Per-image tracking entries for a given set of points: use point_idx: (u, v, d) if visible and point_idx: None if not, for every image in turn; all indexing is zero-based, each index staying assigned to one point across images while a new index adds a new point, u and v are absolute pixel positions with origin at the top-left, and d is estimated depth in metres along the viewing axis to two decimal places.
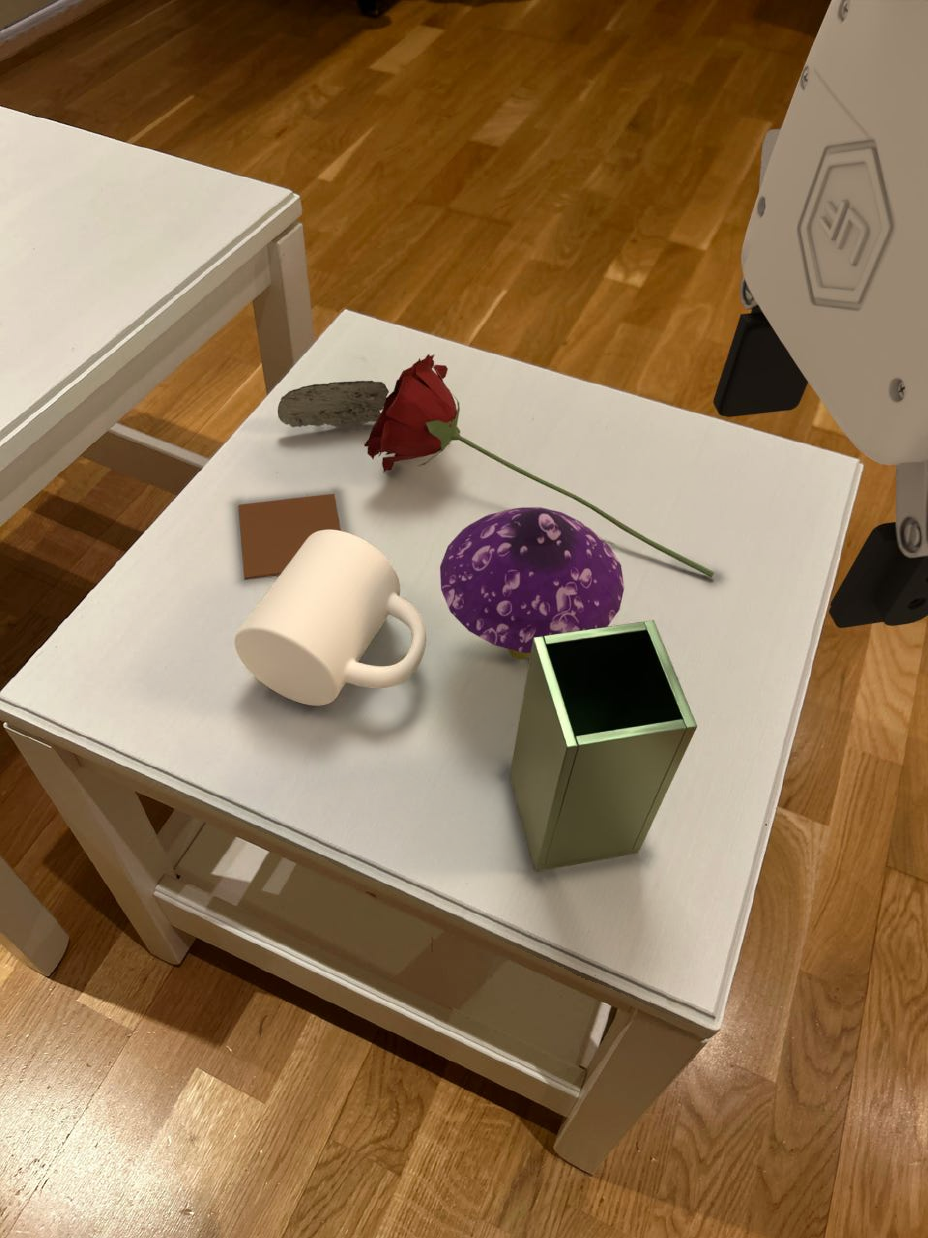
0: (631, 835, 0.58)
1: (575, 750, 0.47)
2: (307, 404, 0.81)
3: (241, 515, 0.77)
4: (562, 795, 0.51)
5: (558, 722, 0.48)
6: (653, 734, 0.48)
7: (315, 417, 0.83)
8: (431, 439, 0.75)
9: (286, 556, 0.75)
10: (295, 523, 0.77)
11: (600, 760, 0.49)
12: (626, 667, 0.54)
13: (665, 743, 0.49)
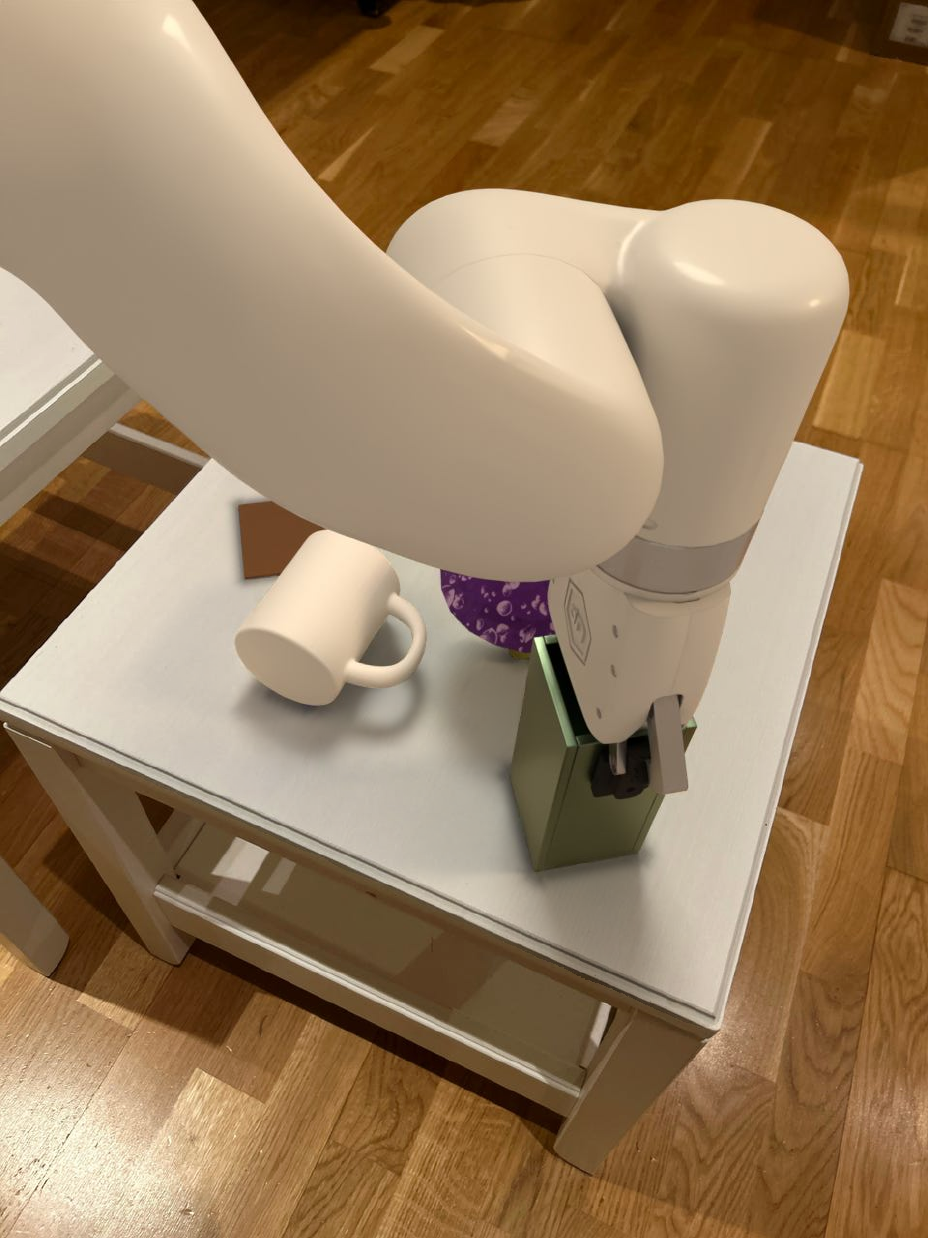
0: (631, 835, 0.58)
1: (575, 750, 0.47)
2: None
3: (241, 515, 0.77)
4: (562, 795, 0.51)
5: (558, 722, 0.48)
6: None
7: None
8: None
9: (286, 556, 0.75)
10: (295, 523, 0.77)
11: None
12: None
13: None
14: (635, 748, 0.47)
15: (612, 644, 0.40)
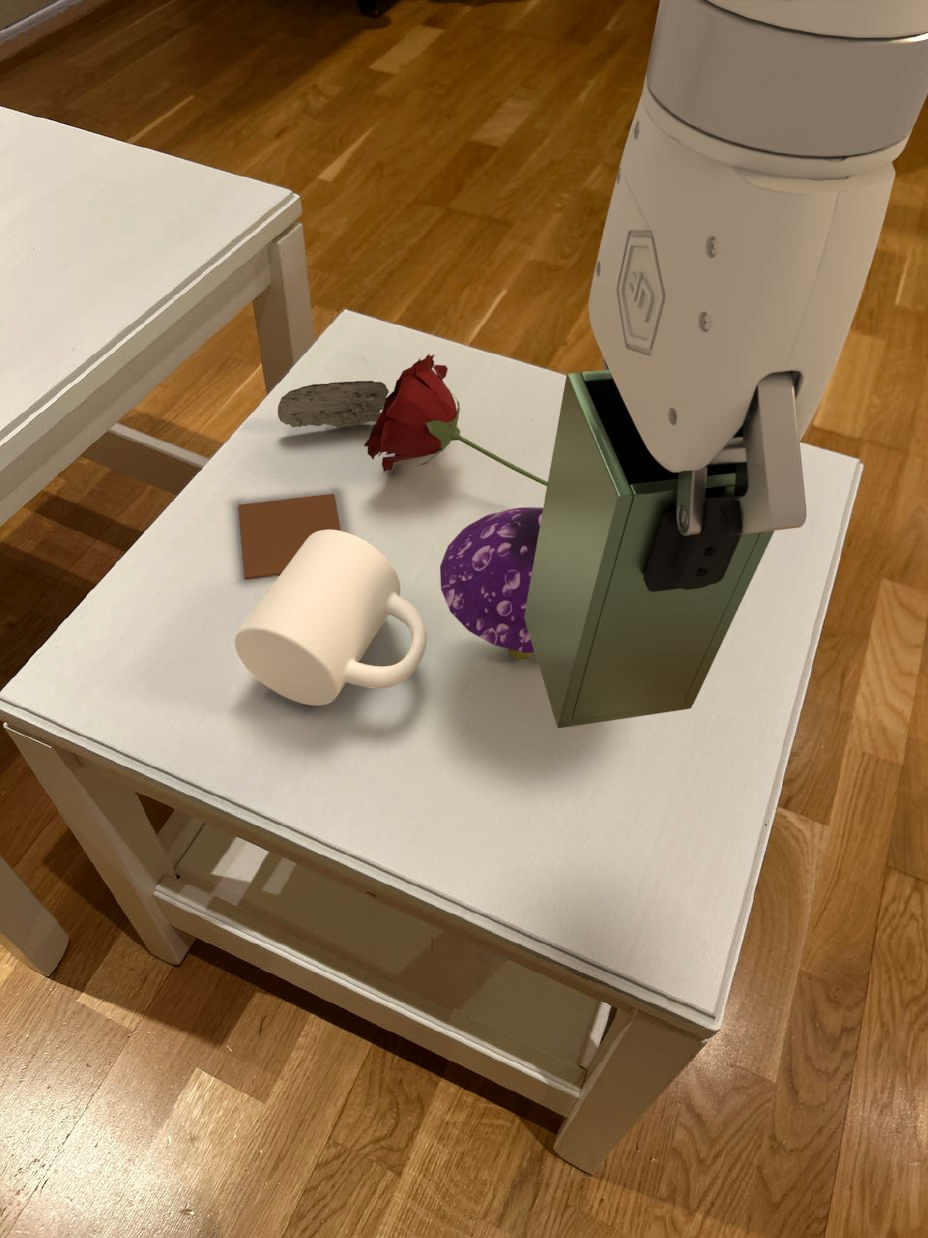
0: (686, 676, 0.44)
1: (629, 504, 0.34)
2: (307, 404, 0.81)
3: (241, 515, 0.77)
4: (604, 591, 0.37)
5: (605, 469, 0.34)
6: None
7: (315, 417, 0.83)
8: (431, 439, 0.75)
9: (286, 556, 0.75)
10: (295, 523, 0.77)
11: None
12: None
13: None
14: (715, 498, 0.33)
15: (705, 273, 0.26)
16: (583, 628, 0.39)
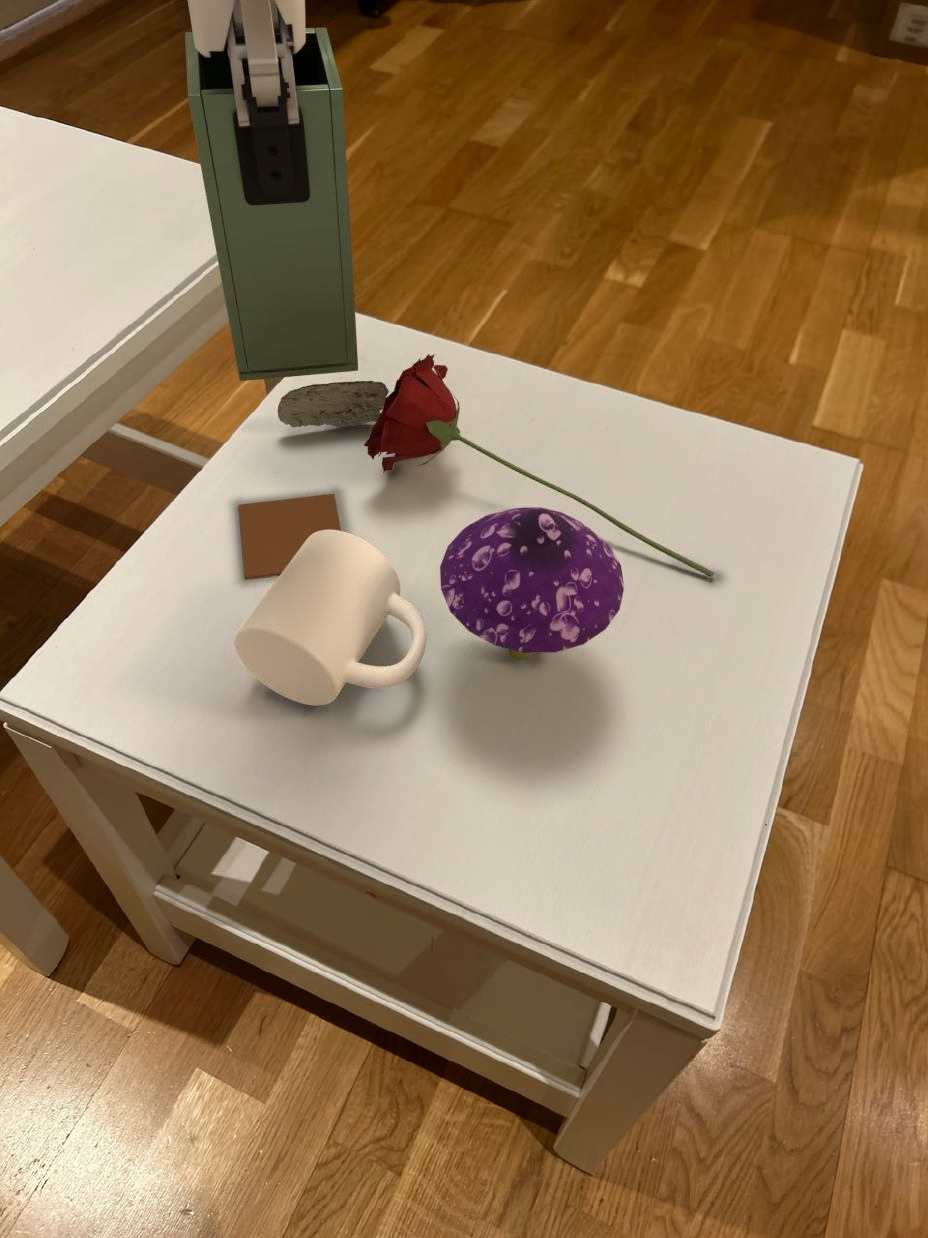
0: (336, 327, 0.53)
1: (201, 105, 0.43)
2: (307, 404, 0.81)
3: (241, 515, 0.77)
4: (218, 209, 0.47)
5: (187, 82, 0.43)
6: None
7: (315, 417, 0.83)
8: (431, 439, 0.75)
9: (286, 556, 0.75)
10: (295, 523, 0.77)
11: None
12: None
13: (313, 119, 0.44)
14: None
15: None
16: None
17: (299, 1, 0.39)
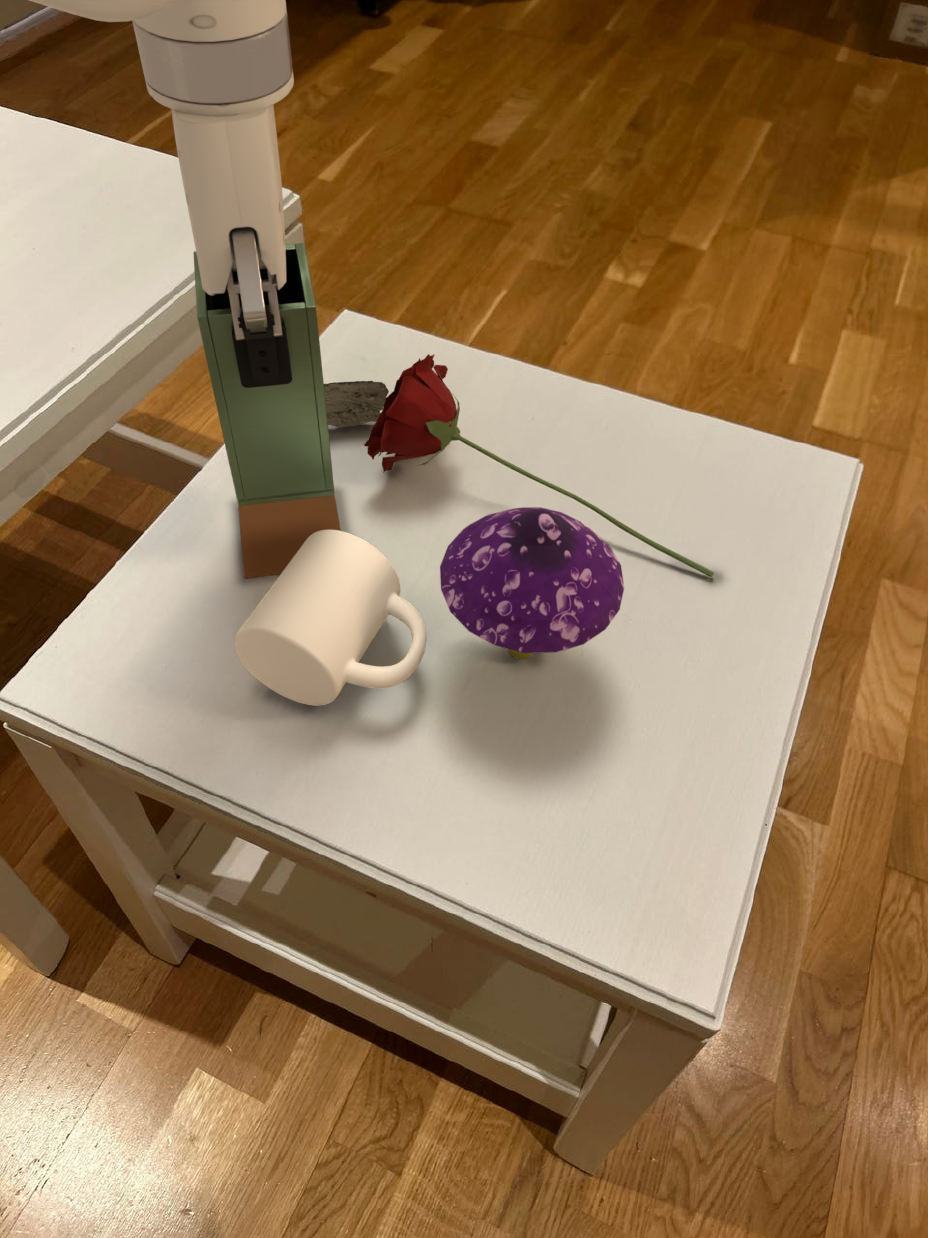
0: (315, 465, 0.66)
1: (207, 322, 0.56)
2: None
3: (241, 515, 0.77)
4: (220, 389, 0.59)
5: (196, 302, 0.56)
6: None
7: None
8: (431, 439, 0.75)
9: (286, 556, 0.75)
10: (295, 523, 0.77)
11: None
12: (293, 297, 0.63)
13: (294, 327, 0.57)
14: None
15: (181, 170, 0.48)
16: (219, 419, 0.61)
17: (281, 259, 0.52)
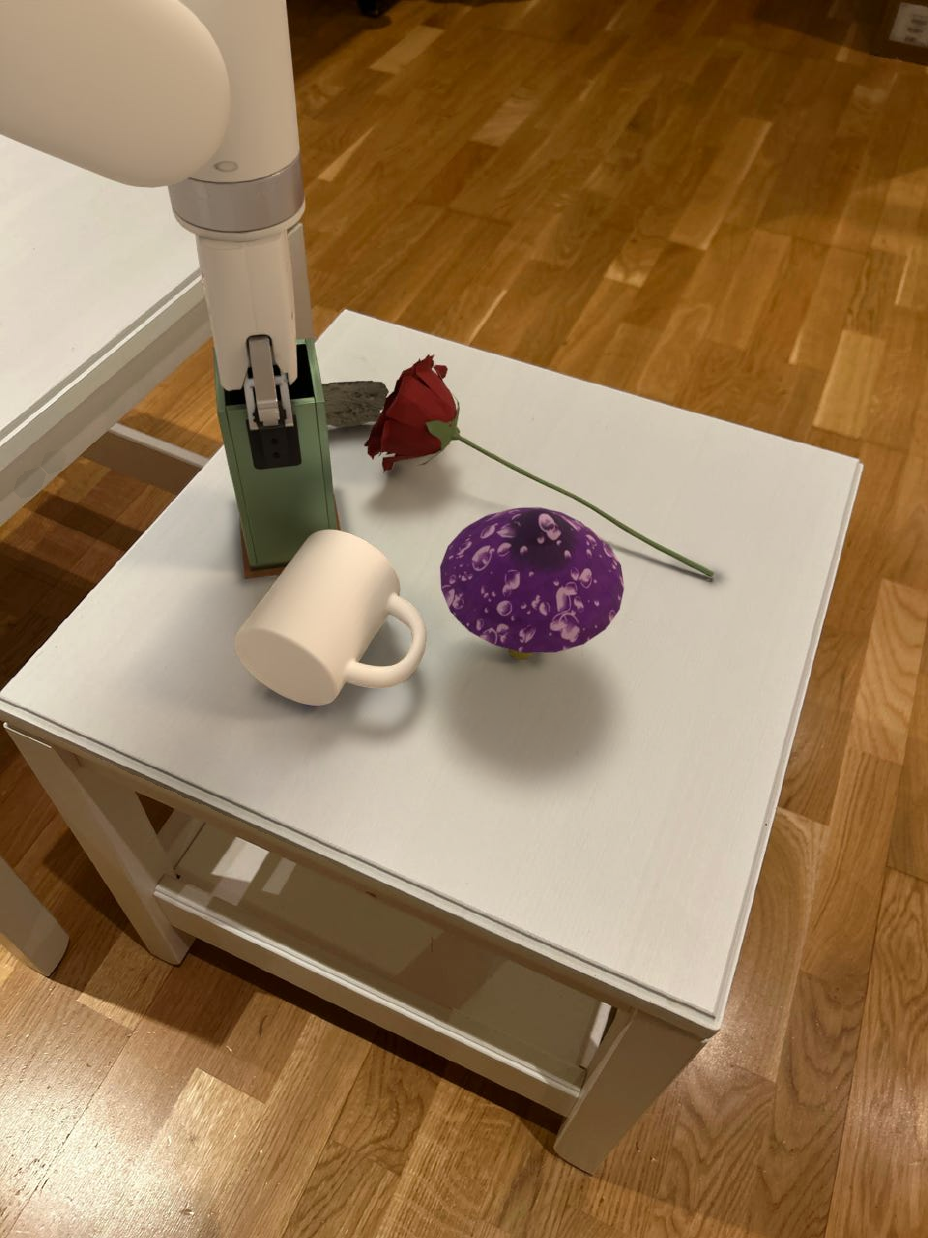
0: None
1: (226, 416, 0.61)
2: None
3: None
4: (236, 472, 0.65)
5: (216, 398, 0.62)
6: None
7: None
8: (431, 439, 0.75)
9: None
10: None
11: None
12: (302, 384, 0.68)
13: (304, 419, 0.63)
14: None
15: (204, 286, 0.54)
16: (235, 497, 0.67)
17: (292, 360, 0.57)
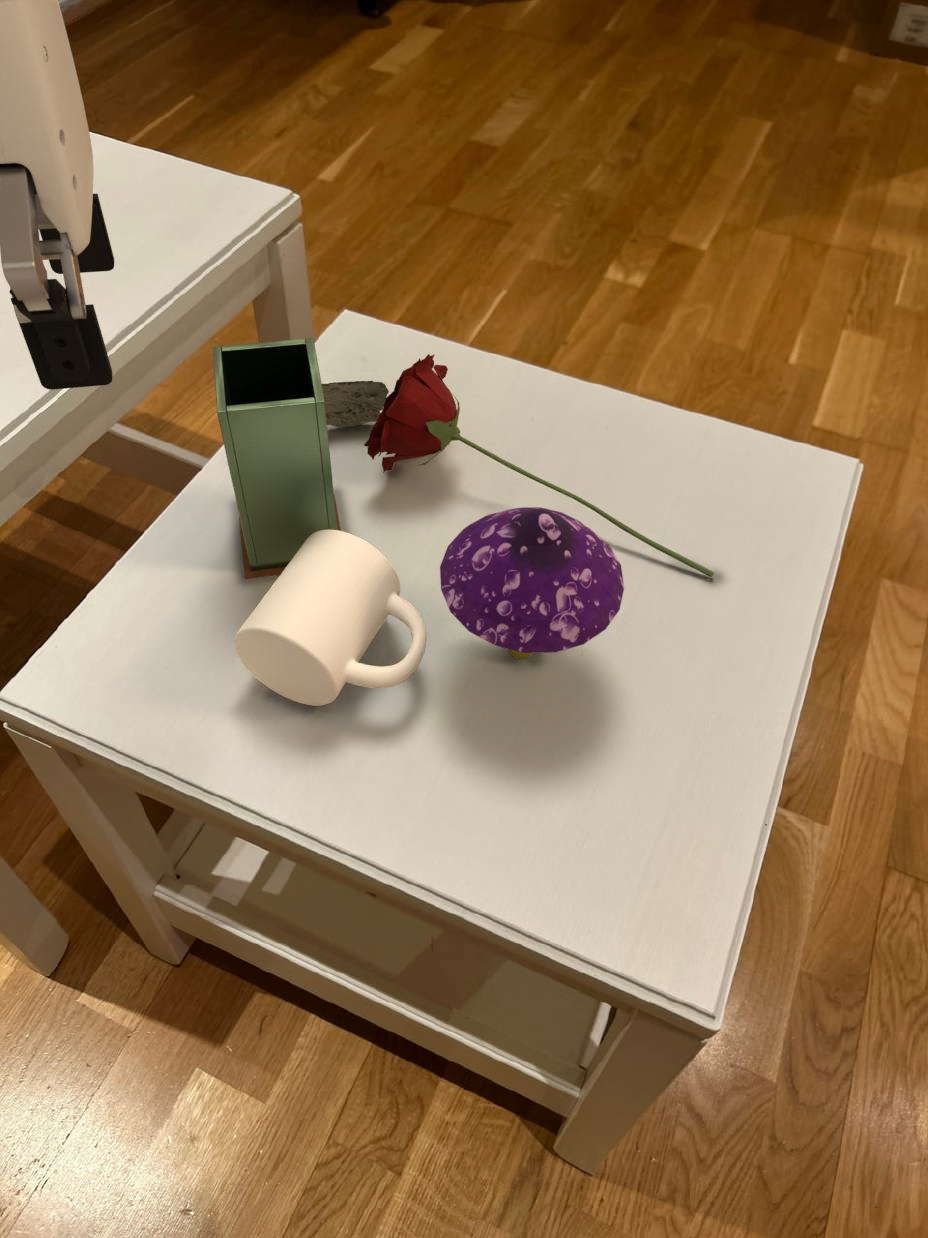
0: None
1: (226, 416, 0.61)
2: None
3: None
4: (236, 472, 0.65)
5: (216, 398, 0.62)
6: (288, 406, 0.62)
7: None
8: (431, 439, 0.75)
9: None
10: None
11: (253, 432, 0.63)
12: (302, 384, 0.68)
13: (304, 419, 0.63)
14: None
15: None
16: (235, 497, 0.67)
17: (72, 211, 0.38)
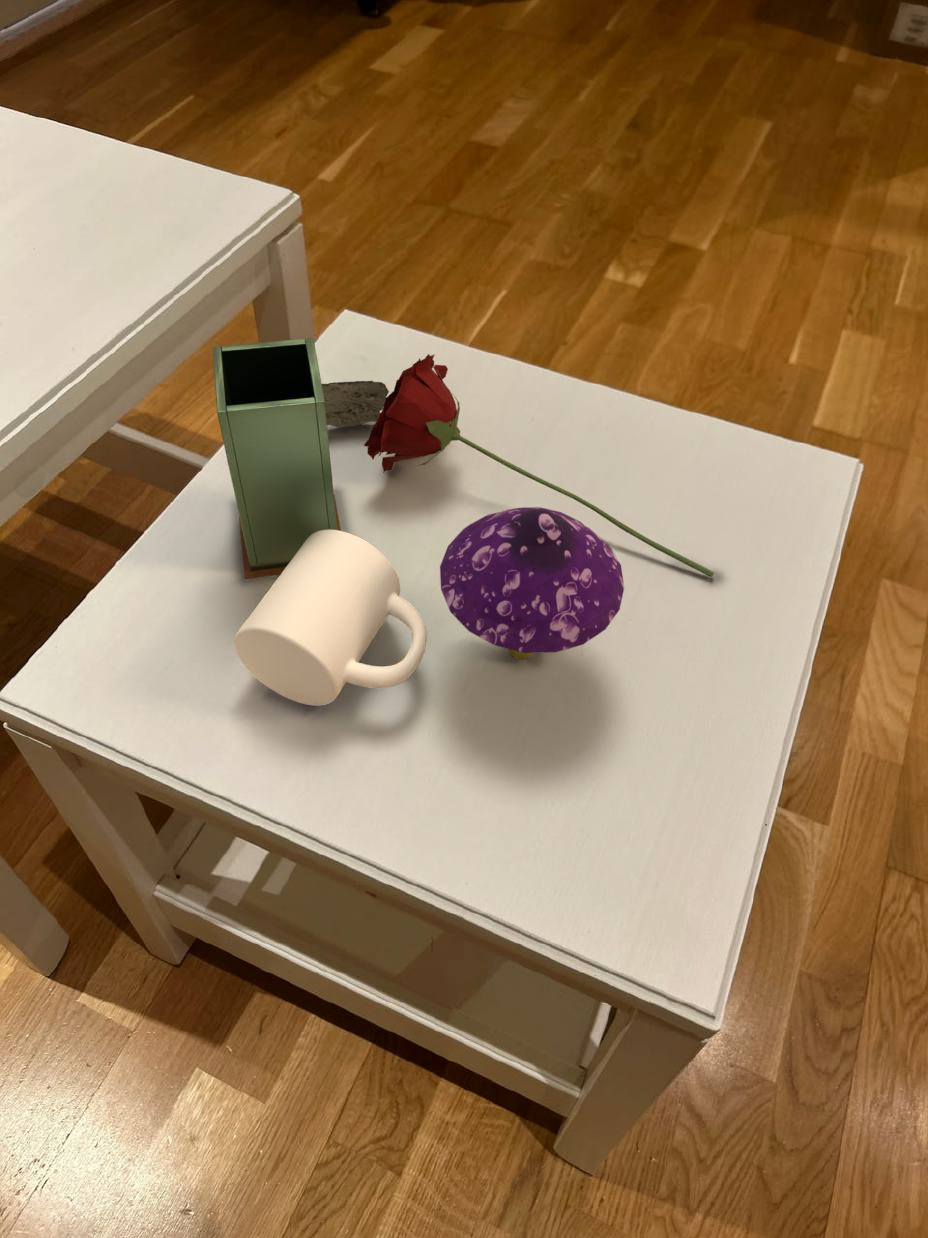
0: None
1: (226, 416, 0.61)
2: None
3: None
4: (236, 472, 0.65)
5: (216, 398, 0.62)
6: (288, 406, 0.62)
7: None
8: (431, 439, 0.75)
9: None
10: None
11: (253, 432, 0.63)
12: (302, 384, 0.68)
13: (304, 419, 0.63)
14: None
15: None
16: (235, 497, 0.67)
17: None
